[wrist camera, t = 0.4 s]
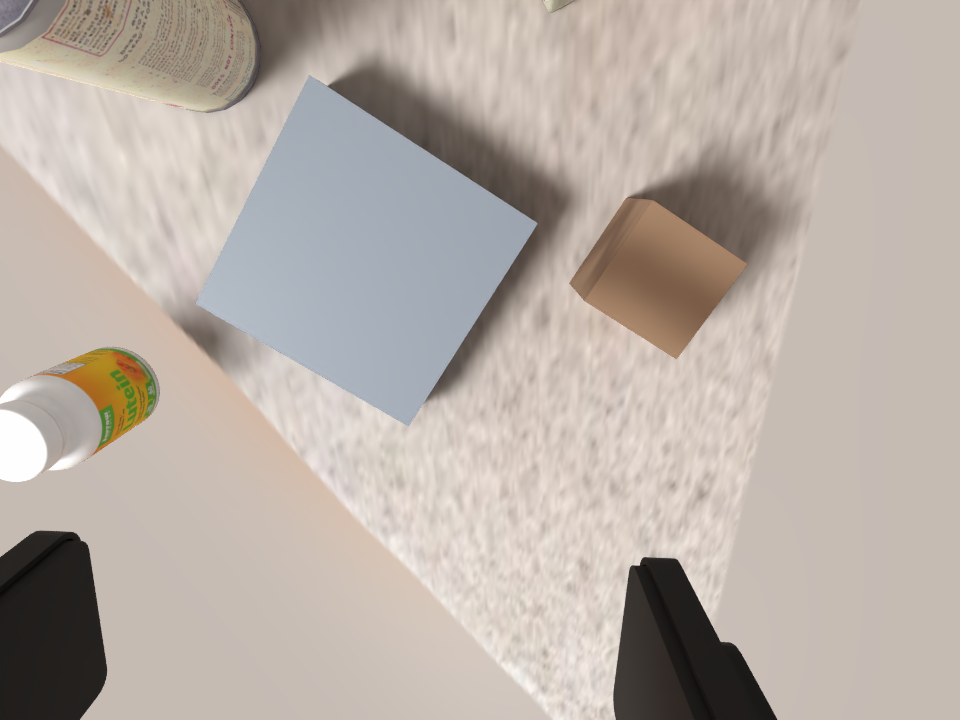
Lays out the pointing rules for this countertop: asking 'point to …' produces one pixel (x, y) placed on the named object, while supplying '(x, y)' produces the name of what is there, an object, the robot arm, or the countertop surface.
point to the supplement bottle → (73, 411)
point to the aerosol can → (138, 47)
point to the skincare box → (555, 4)
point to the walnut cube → (656, 274)
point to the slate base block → (362, 254)
